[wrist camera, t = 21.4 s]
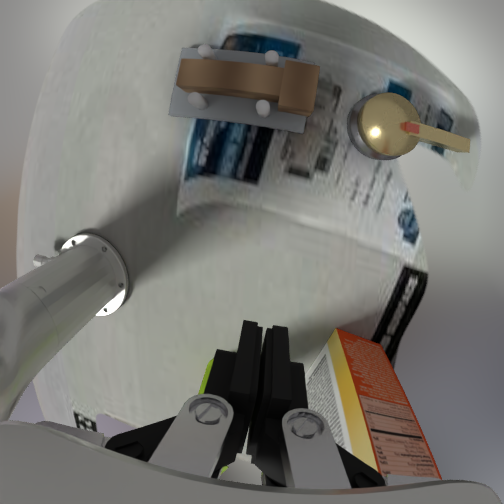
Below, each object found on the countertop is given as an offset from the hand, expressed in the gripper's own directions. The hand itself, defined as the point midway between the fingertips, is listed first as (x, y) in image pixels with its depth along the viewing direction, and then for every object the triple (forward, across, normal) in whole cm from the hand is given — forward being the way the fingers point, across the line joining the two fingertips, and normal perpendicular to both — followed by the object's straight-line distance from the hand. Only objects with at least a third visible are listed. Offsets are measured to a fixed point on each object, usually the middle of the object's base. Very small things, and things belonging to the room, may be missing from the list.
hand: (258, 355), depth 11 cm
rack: (+27, +6, -16) cm, 32 cm away
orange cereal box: (+27, -13, +25) cm, 39 cm away
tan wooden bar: (+26, +5, -16) cm, 31 cm away
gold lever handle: (+25, -14, -14) cm, 32 cm away
